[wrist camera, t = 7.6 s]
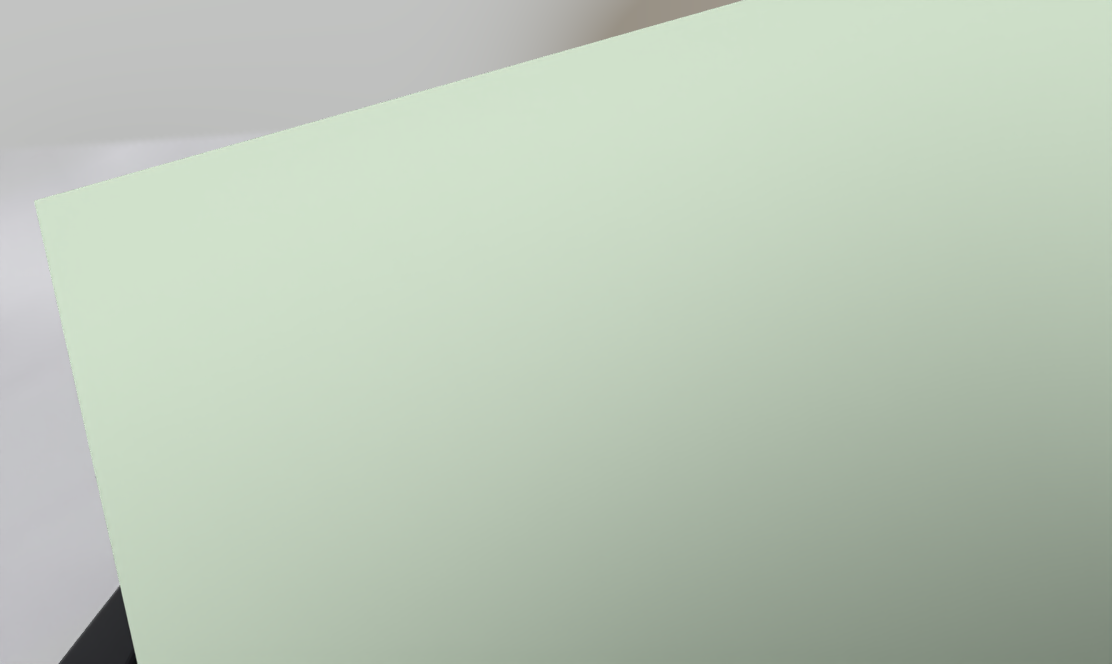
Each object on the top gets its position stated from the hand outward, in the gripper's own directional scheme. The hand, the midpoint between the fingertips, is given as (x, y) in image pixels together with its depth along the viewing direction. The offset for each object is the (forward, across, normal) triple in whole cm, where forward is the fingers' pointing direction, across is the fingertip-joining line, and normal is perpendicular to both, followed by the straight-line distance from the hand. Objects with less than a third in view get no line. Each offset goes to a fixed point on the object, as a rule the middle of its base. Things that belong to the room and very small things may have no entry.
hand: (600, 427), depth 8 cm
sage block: (+5, 0, +7) cm, 9 cm away
